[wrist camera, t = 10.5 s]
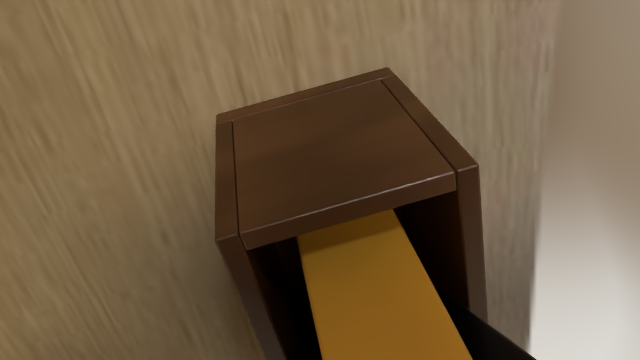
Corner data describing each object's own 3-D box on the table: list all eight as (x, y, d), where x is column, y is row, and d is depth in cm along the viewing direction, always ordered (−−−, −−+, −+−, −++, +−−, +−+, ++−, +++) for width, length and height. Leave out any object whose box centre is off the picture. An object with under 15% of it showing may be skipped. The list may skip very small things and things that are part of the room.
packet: (379, 182, 11) (484, 378, 6) (401, 299, 13) (494, 511, 8) (288, 208, 11) (335, 423, 6) (324, 322, 13) (379, 545, 8)
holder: (388, 65, 12) (480, 164, 8) (417, 257, 16) (493, 400, 11) (215, 113, 12) (213, 240, 8) (282, 297, 16) (307, 456, 11)
